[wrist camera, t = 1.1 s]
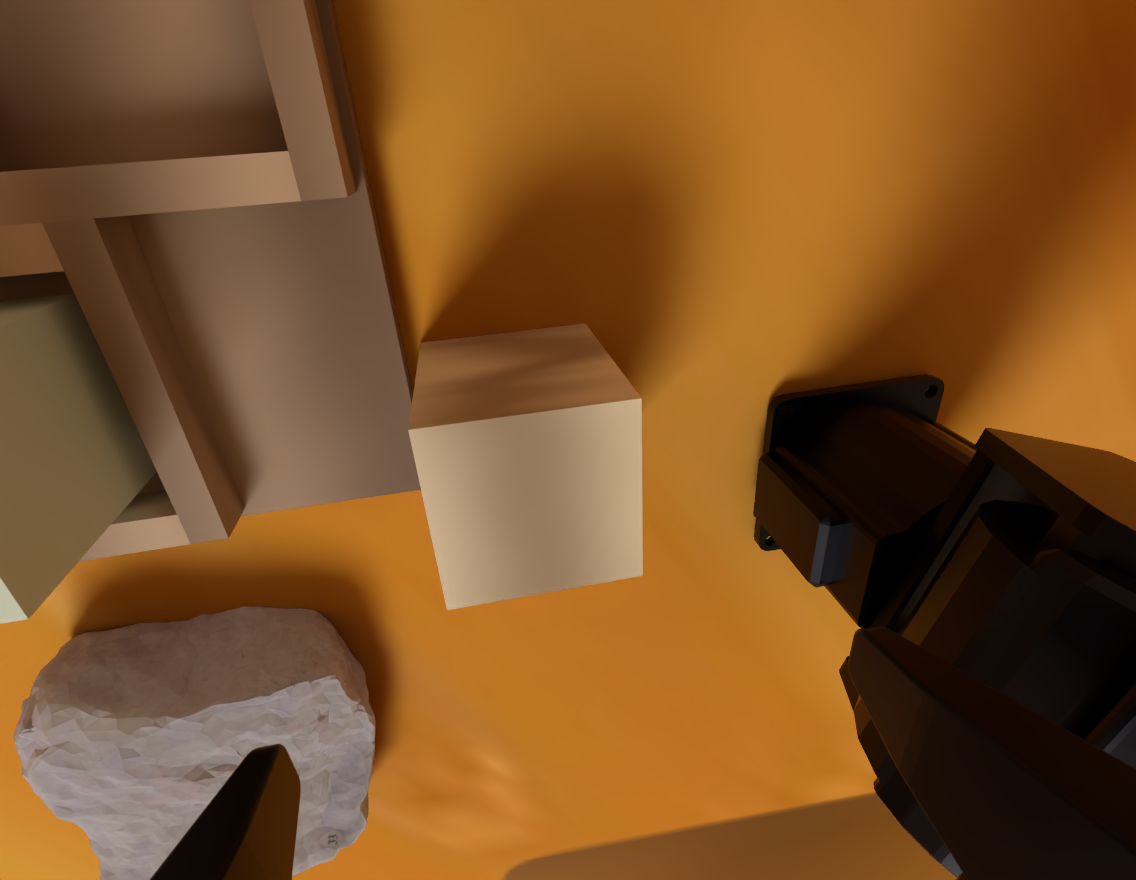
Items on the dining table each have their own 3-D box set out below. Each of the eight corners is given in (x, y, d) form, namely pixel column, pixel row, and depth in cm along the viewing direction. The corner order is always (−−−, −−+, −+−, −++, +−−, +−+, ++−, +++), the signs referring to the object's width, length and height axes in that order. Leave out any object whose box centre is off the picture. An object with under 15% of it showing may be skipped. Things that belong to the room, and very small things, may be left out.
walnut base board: (258, -354, 11) (216, -466, 9) (429, 475, 19) (427, 514, 17) (-700, -388, 9) (-1031, -539, 7) (-45, 545, 17) (-108, 598, 15)
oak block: (584, 322, 18) (641, 398, 13) (592, 462, 20) (642, 576, 15) (420, 341, 17) (408, 430, 12) (447, 484, 20) (447, 610, 14)
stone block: (349, 559, 22) (28, 627, 19) (360, 653, 19) (-41, 760, 15) (385, 747, 28) (144, 826, 25) (399, 849, 24) (115, 959, 21)
